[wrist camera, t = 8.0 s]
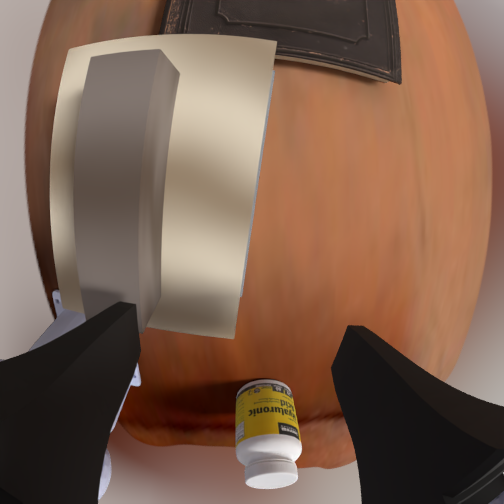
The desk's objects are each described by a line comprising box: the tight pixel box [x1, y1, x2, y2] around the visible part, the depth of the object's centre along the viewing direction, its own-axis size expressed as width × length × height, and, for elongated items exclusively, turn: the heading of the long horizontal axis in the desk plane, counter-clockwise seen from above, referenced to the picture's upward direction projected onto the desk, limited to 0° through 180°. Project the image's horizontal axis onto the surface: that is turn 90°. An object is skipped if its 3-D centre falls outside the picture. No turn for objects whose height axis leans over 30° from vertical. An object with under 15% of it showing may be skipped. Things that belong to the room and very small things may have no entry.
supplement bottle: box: [236, 379, 302, 489], centre depth 19 cm, size 5×5×10 cm
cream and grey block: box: [50, 34, 277, 339], centre depth 10 cm, size 14×10×4 cm
